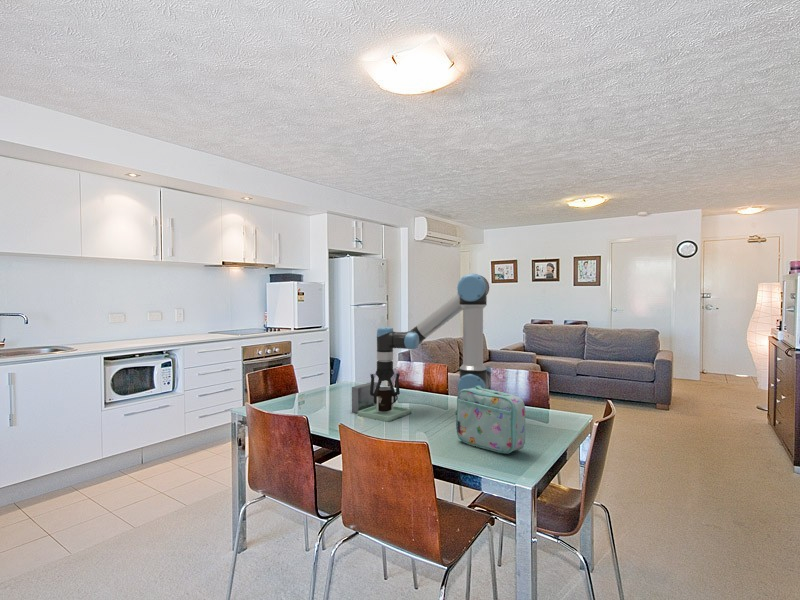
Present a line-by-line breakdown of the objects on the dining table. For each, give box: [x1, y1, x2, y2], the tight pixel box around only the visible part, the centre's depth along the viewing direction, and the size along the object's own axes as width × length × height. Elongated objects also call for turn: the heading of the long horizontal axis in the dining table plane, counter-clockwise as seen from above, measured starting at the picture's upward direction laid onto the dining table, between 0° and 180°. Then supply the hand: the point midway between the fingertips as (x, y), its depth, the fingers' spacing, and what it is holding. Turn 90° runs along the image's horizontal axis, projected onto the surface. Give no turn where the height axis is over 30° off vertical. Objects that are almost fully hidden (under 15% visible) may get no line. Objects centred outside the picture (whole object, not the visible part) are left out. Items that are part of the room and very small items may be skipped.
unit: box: [351, 381, 378, 414], centre depth 215 cm, size 4×16×12 cm, turn 145°
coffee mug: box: [375, 386, 398, 412], centre depth 206 cm, size 12×9×10 cm
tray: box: [357, 405, 412, 423], centre depth 206 cm, size 18×18×2 cm
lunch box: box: [454, 386, 526, 454], centre depth 162 cm, size 27×10×21 cm, turn 45°
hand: (384, 410), depth 206 cm, fingers closed on coffee mug, 6 cm apart
